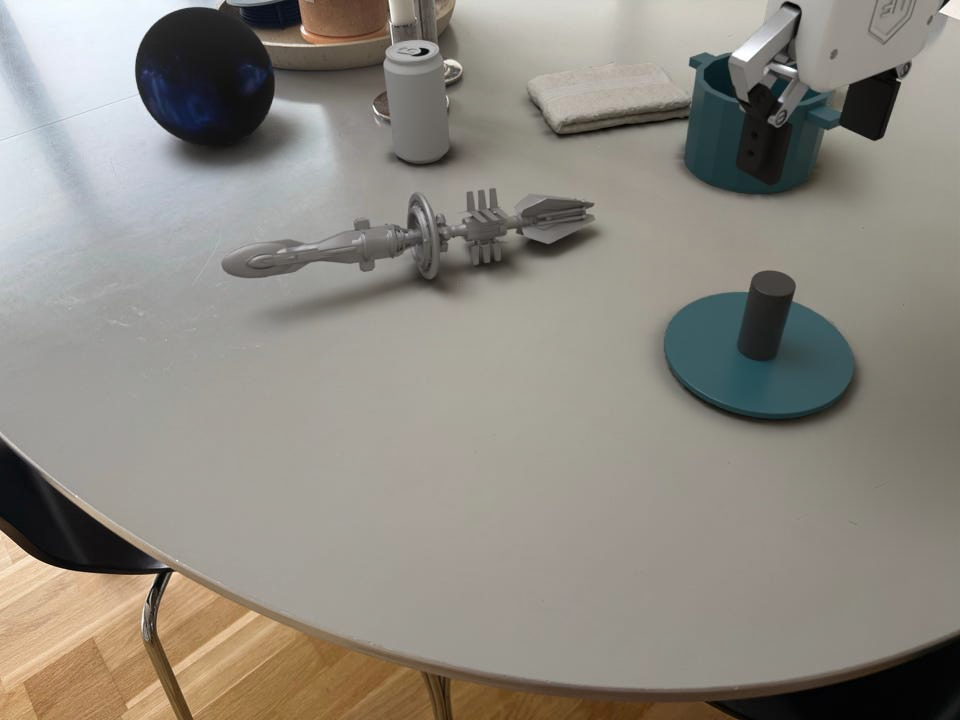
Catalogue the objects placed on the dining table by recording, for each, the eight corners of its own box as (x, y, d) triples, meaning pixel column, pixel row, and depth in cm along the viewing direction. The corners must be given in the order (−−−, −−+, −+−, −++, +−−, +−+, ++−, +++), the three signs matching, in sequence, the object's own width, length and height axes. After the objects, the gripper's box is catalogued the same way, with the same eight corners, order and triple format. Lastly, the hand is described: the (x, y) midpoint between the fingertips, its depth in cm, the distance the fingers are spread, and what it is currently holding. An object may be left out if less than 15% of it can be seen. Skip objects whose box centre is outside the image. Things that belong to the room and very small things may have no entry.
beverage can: (437, 170, 90) (428, 64, 82) (385, 162, 92) (371, 57, 84) (458, 144, 95) (452, 40, 87) (408, 136, 97) (397, 35, 89)
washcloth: (697, 117, 97) (701, 92, 95) (554, 140, 95) (554, 115, 92) (657, 77, 106) (659, 54, 104) (524, 98, 103) (524, 74, 101)
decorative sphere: (143, 173, 93) (96, 41, 82) (176, 113, 104) (138, -10, 94) (276, 167, 92) (244, 33, 82) (294, 108, 104) (269, -16, 93)
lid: (751, 282, 74) (768, 208, 68) (890, 374, 64) (922, 297, 59) (626, 343, 68) (634, 269, 63) (757, 453, 59) (780, 376, 54)
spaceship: (209, 213, 71) (215, 226, 64) (571, 165, 82) (611, 172, 74) (226, 301, 73) (234, 323, 66) (575, 244, 84) (613, 257, 77)
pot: (729, 112, 98) (743, 33, 92) (861, 178, 86) (888, 91, 79) (642, 145, 93) (650, 63, 86) (769, 219, 81) (790, 131, 74)
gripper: (836, -111, 36) (759, 221, 47) (1060, -165, 42) (944, 138, 54) (713, -139, 41) (670, 169, 52) (931, -184, 47) (850, 98, 59)
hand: (809, 153), depth 53 cm, fingers open, 9 cm apart
